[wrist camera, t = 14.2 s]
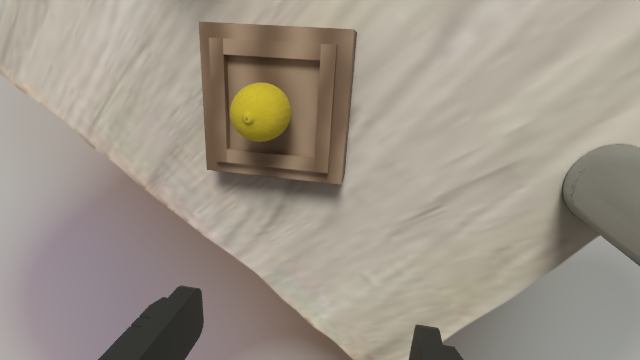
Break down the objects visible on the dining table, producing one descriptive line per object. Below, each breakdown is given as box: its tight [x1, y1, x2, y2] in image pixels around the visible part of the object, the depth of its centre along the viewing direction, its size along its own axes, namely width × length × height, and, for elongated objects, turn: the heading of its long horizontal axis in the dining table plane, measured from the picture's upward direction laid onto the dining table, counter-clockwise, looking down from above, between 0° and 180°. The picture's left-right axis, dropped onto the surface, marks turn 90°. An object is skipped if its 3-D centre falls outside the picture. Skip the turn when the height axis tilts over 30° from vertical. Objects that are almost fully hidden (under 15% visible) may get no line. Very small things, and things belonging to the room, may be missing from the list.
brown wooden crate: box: [199, 22, 357, 185], centre depth 38 cm, size 16×16×5 cm
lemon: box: [230, 83, 291, 142], centre depth 33 cm, size 6×6×8 cm
